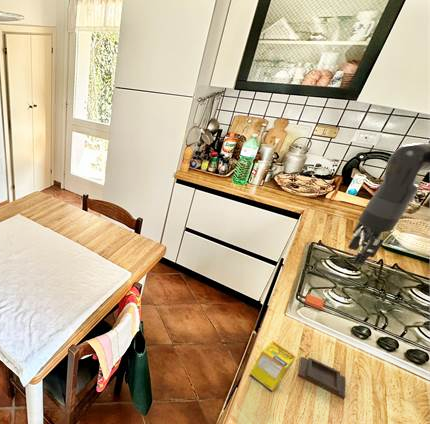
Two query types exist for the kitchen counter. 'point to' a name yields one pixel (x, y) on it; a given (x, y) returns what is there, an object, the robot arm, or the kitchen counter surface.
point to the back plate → (322, 376)
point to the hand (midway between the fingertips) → (354, 255)
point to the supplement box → (272, 365)
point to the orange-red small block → (314, 301)
